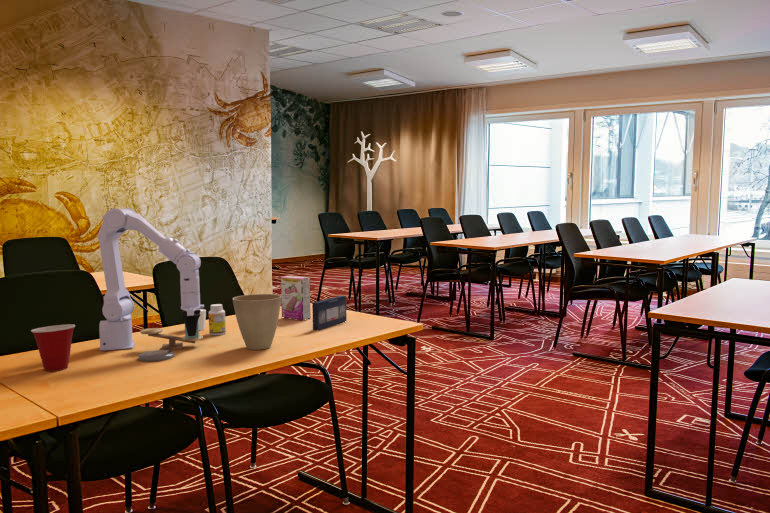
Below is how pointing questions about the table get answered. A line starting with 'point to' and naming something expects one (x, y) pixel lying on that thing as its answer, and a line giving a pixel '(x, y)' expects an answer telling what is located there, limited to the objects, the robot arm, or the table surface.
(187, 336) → the block
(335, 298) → the vhs cassette tape
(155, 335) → the balance
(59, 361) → the plastic cup
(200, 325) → the white cup
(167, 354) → the dish
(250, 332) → the plant pot
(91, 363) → the table surface
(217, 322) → the supplement bottle
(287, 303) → the candy bar box
